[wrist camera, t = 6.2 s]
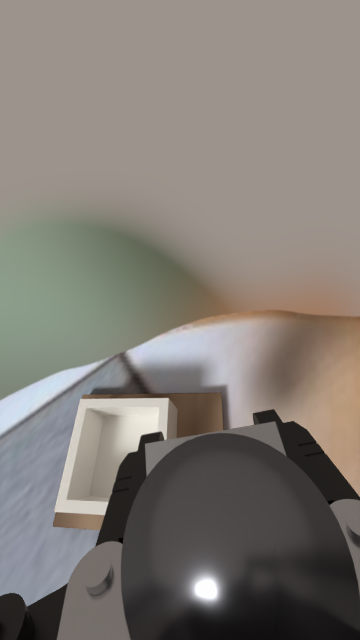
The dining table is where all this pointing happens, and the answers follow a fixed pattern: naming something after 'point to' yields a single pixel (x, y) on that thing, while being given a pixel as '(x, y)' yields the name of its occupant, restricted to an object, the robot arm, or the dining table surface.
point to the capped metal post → (234, 546)
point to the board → (192, 419)
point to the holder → (107, 447)
